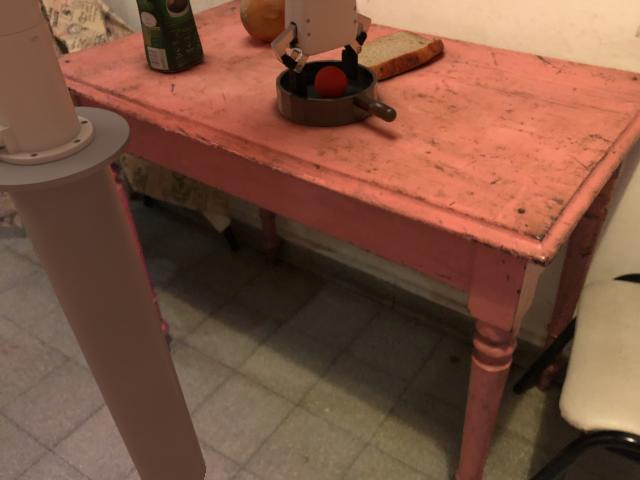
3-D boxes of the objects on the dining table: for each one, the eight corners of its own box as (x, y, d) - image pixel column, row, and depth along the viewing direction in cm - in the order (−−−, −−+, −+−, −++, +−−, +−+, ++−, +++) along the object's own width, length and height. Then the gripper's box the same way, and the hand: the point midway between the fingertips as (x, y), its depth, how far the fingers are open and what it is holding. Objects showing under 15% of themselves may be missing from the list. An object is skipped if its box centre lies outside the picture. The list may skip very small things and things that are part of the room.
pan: (318, 136, 83) (316, 110, 81) (259, 102, 92) (256, 77, 90) (397, 105, 90) (398, 80, 88) (335, 76, 100) (334, 52, 97)
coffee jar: (180, 51, 110) (158, -61, 98) (211, 59, 106) (192, -55, 94) (140, 68, 104) (110, -48, 92) (171, 77, 100) (144, -42, 88)
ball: (325, 103, 88) (331, 69, 86) (305, 95, 91) (310, 61, 89) (350, 104, 91) (356, 71, 89) (330, 96, 94) (336, 63, 92)
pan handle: (388, 126, 80) (389, 112, 79) (351, 107, 85) (351, 93, 84) (399, 121, 81) (400, 108, 80) (361, 103, 86) (361, 90, 85)
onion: (232, 42, 113) (224, -14, 107) (269, 28, 119) (263, -26, 113) (267, 53, 108) (261, -5, 102) (304, 37, 114) (300, -18, 108)
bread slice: (344, 85, 97) (343, 62, 94) (344, 45, 110) (343, 25, 108) (454, 82, 97) (456, 60, 94) (440, 43, 110) (441, 23, 108)
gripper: (352, -52, 85) (353, 65, 96) (250, -31, 77) (263, 94, 87) (387, -43, 81) (384, 79, 91) (283, -20, 72) (293, 111, 83)
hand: (325, 86), depth 89 cm, fingers open, 9 cm apart
